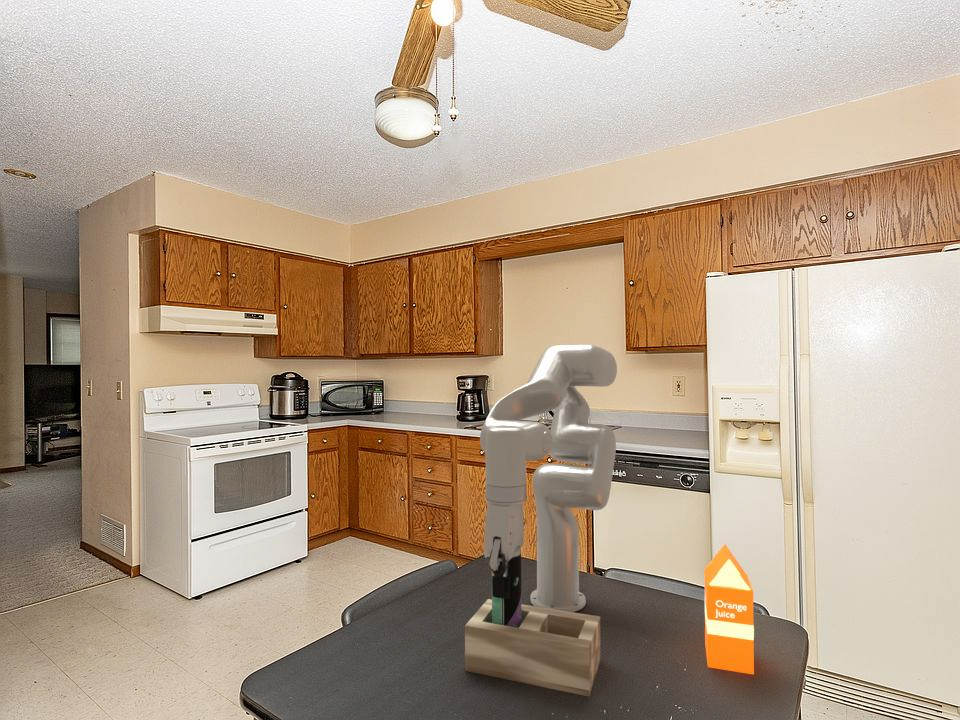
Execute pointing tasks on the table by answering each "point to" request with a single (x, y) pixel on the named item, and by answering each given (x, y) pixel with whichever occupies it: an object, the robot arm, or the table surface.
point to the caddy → (536, 648)
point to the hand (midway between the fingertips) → (506, 589)
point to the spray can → (510, 609)
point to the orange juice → (728, 615)
